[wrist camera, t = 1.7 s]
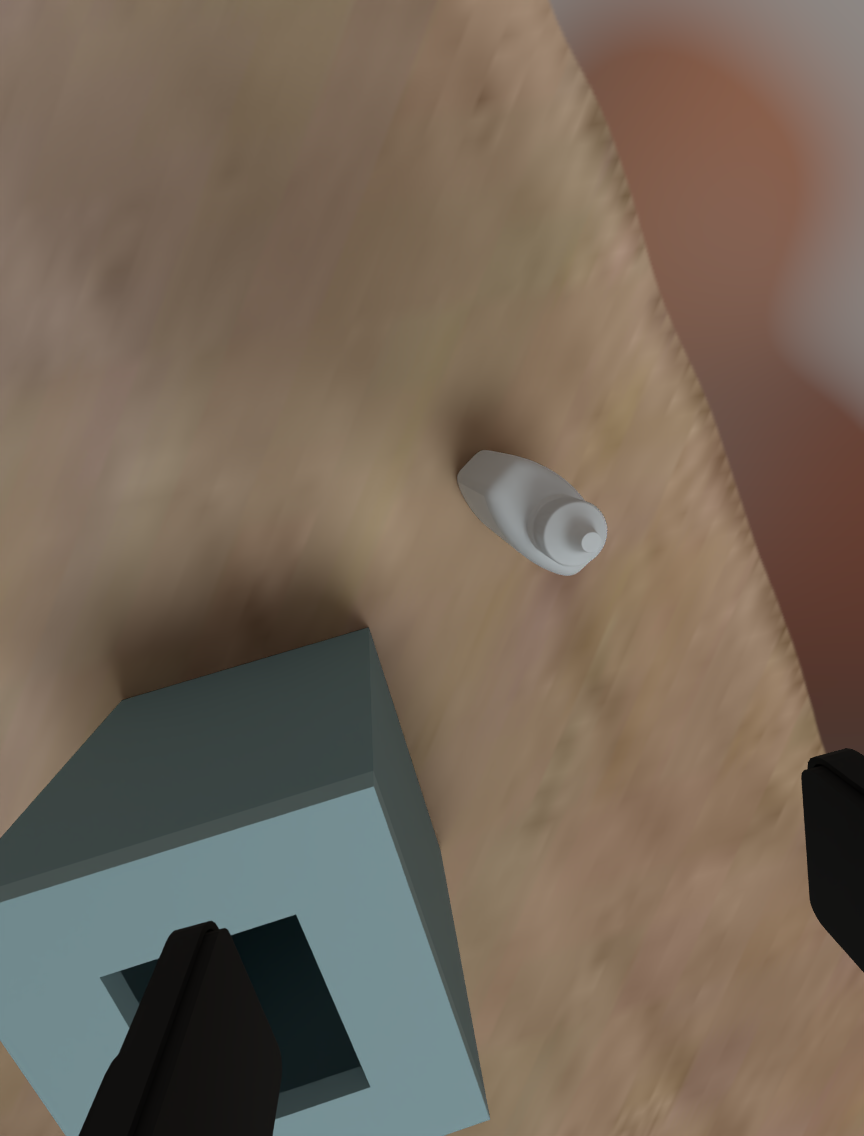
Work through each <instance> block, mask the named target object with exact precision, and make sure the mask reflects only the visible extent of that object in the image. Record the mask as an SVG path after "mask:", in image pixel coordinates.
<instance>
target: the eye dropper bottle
mask: <svg viewBox="0 0 864 1136" xmlns="http://www.w3.org/2000/svg"><path fill="white" fill-rule="evenodd" d="M457 482H458V485H459V488H460V490H461V493H462V495H463V497H464V499H465V501H466V502H467V504H468V505H469V507H470V508H471V510H472V511H473V513H474V514H475V515H476V516H477V517H478V518H479V519H480V520H481V521H482V522H483V523H484V524H485V525H486V526H487V527H488V528H489V529H491V530H492V531H493V532H494V533H496V534H497V535H498V536H499V537H501V538H502V539H503V540H504V541H506V542H507V543H508V544H509V545H511V546H512V547H513V548H514V549H516V550H517V551H518V552H520V553H521V554H522V555H523V556H525V557H526V558H527V559H529V560H530V561H532V562H533V563H535V564H537V565H538V566H540V567H542V568H544V569H546V570H549V571H551V572H554V573H557V574H560V575H565V576H567V575H574V574H575V573H577V572H579V571H580V570H581V569H582V568H583V567H585V566H586V565H587V564H588V563H589V562H590V561H592V559H593V558H595V557H596V556H597V555H598V554H599V553H600V551H601V550H602V548H603V545H604V544H605V541H606V538H607V531H608V530H607V526H606V525H607V523H606V520H605V517H603V514H601V511H599V509H598V508H597V507H596V506H594V505H593V504H591V503H589V502H587V501H585V500H584V499H583V498H582V496H581V495H580V494H579V493H578V492H577V491H576V489H575V488H574V487H573V486H572V485H571V484H569V483H568V482H567V481H566V480H565V479H563V478H562V477H561V476H559V475H558V474H556V473H555V472H553V471H552V470H550V469H548V468H547V467H545V466H543V465H540V464H538V463H536V462H534V461H531V460H529V459H526V458H522V457H519V456H515V455H510V454H505V453H500V452H495V451H490V450H481V451H479V452H478V453H476V454H475V455H474V456H473V457H472V458H471V459H470V460H469V461H468V462H467V464H466V465H465V466H464V467H463V468H462V469H461V470H460V471H459V473H458V475H457Z"/></svg>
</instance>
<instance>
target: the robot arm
mask: <svg viewBox="0 0 864 1136" xmlns="http://www.w3.org/2000/svg"><path fill="white" fill-rule="evenodd" d="M801 779H802V794H803V808H804V823H805V837H806V852H807V866H808V881H809V895H810V903H811V906H812V909H813V911H814V913H815V915H816V917H817V918H818V920H819V922H820V923H821V924H822V926H823V927H824V928H825V929H826V930H827V932H828V933H829V934H830V935H831V936H832V937H833V938H834V939H835V941H836V942H837V943H838V944H839V945H840V946H841V947H842V948H843V950H844V951H845V952H846V953H847V954H848V955H849V956H850V957H851V959H852V960H853V961H854V962H855V963H856V964H857V965H858V966H859V968H860V969H861V970H862V971H863V972H864V756H863V755H862V754H860V753H859V752H857V751H855V750H853V749H848V748H845V749H842V750H838V751H834V752H831V753H827V754H823V755H820V756H816V757H813V758H810V760H809V762H808V769H807V770H804V771H803V772H802V777H801ZM281 1078H282V1058H281V1052H280V1049H279V1046H278V1043H277V1041H276V1039H275V1036H274V1034H273V1032H272V1029H271V1027H270V1025H269V1022H268V1020H267V1018H266V1015H265V1013H264V1011H263V1009H262V1006H261V1004H260V1002H259V999H258V997H257V995H256V992H255V990H254V988H253V985H252V983H251V981H250V978H249V976H248V974H247V971H246V969H245V967H244V965H243V962H242V960H241V958H240V955H239V953H238V951H237V948H236V946H235V944H234V941H233V939H232V937H231V934H230V933H229V931H228V929H226V928H222V929H219V928H218V926H217V925H216V923H215V922H213V921H207V922H204V923H200V924H196V925H193V926H189V927H185V928H181V929H178V930H174V931H173V932H172V933H171V934H170V935H169V937H168V939H167V941H166V943H165V945H164V947H163V950H162V952H161V955H160V957H159V959H158V962H157V964H156V966H155V969H154V971H153V973H152V976H151V978H150V981H149V983H148V985H147V988H146V990H145V992H144V995H143V997H142V999H141V1002H140V1004H139V1007H138V1009H137V1011H136V1014H135V1016H134V1018H133V1021H132V1023H131V1025H130V1028H129V1030H128V1033H127V1035H126V1037H125V1040H124V1042H123V1044H122V1047H121V1049H120V1051H119V1054H118V1055H117V1056H116V1057H115V1058H114V1060H113V1061H112V1062H111V1064H110V1066H109V1068H108V1070H107V1072H106V1073H105V1075H104V1078H103V1080H102V1082H101V1084H100V1087H99V1089H98V1091H97V1094H96V1096H95V1098H94V1101H93V1103H92V1105H91V1108H90V1110H89V1112H88V1115H87V1117H86V1119H85V1122H84V1124H83V1126H82V1129H81V1131H80V1133H79V1136H273V1130H274V1124H275V1117H276V1111H277V1105H278V1098H279V1092H280V1085H281Z"/></svg>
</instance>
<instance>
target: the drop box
mask: <svg viewBox="0 0 864 1136" xmlns="http://www.w3.org/2000/svg"><path fill="white" fill-rule="evenodd" d="M207 921H213V922H215V923H216V925H217V926H218V928H219V929H222V928H226V929H228V931H229V933H230V934H231V937H232V939H233V941H234V944H235V946H236V948H237V951H238V953H239V955H240V958H241V960H242V962H243V965H244V967H245V969H246V971H247V974H248V976H249V978H250V981H251V983H252V985H253V988H254V990H255V992H256V995H257V997H258V999H259V1002H260V1004H261V1006H262V1009H263V1011H264V1013H265V1015H266V1018H267V1020H268V1022H269V1025H270V1027H271V1029H272V1032H273V1034H274V1036H275V1039H276V1041H277V1043H278V1046H279V1049H280V1052H281V1058H282V1078H281V1085H280V1092H279V1098H278V1105H277V1111H276V1117H275V1124H274V1130H273V1136H444V1135H447V1134H450V1133H452V1132H455V1131H458V1130H461V1129H464V1128H467V1127H470V1126H473V1125H476V1124H478V1123H481V1122H484V1121H487V1120H490V1116H489V1111H488V1105H487V1100H486V1094H485V1089H484V1083H483V1078H482V1073H481V1067H480V1062H479V1056H478V1051H477V1045H476V1040H475V1035H474V1029H473V1024H472V1018H471V1013H470V1008H469V1002H468V997H467V991H466V986H465V980H464V975H463V970H462V964H461V959H460V953H459V948H458V942H457V937H456V932H455V926H454V921H453V915H452V910H451V905H450V899H449V894H448V888H447V883H446V877H445V872H444V867H443V861H442V856H441V851H440V848H439V845H438V841H437V838H436V835H435V832H434V829H433V826H432V823H431V820H430V817H429V813H428V810H427V807H426V804H425V801H424V798H423V795H422V792H421V789H420V785H419V782H418V779H417V776H416V773H415V770H414V767H413V764H412V760H411V757H410V754H409V751H408V748H407V745H406V742H405V739H404V736H403V732H402V729H401V726H400V723H399V720H398V717H397V714H396V711H395V708H394V704H393V701H392V698H391V695H390V692H389V689H388V686H387V683H386V680H385V676H384V673H383V670H382V667H381V664H380V661H379V658H378V655H377V651H376V648H375V645H374V642H373V639H372V636H371V633H370V630H369V627H368V628H365V629H362V630H358V631H355V632H351V633H348V634H345V635H341V636H338V637H335V638H331V639H328V640H324V641H321V642H318V643H314V644H311V645H307V646H304V647H301V648H297V649H294V650H291V651H287V652H284V653H280V654H277V655H274V656H270V657H267V658H263V659H260V660H257V661H253V662H250V663H247V664H243V665H240V666H236V667H233V668H230V669H226V670H223V671H220V672H216V673H213V674H209V675H206V676H203V677H199V678H196V679H192V680H189V681H186V682H182V683H179V684H176V685H172V686H169V687H165V688H162V689H159V690H155V691H152V692H149V693H145V694H142V695H138V696H135V697H132V698H128V699H125V700H122V701H121V702H120V703H119V704H118V705H117V706H116V708H115V709H114V710H113V711H112V712H111V713H110V714H109V715H108V717H107V718H106V719H105V720H104V721H103V722H102V723H101V725H100V726H99V727H98V728H97V729H96V730H95V731H94V733H93V734H92V735H91V736H90V737H89V738H88V739H87V740H86V742H85V743H84V744H83V745H82V746H81V747H80V748H79V750H78V751H77V752H76V753H75V754H74V755H73V756H72V757H71V759H70V760H69V761H68V762H67V763H66V764H65V765H64V767H63V768H62V769H61V770H60V771H59V772H58V773H57V775H56V776H55V777H54V778H53V779H52V780H51V781H50V782H49V784H48V785H47V786H46V787H45V788H44V789H43V790H42V792H41V793H40V794H39V795H38V796H37V797H36V798H35V799H34V801H33V802H32V803H31V804H30V805H29V806H28V807H27V809H26V810H25V811H24V812H23V813H22V814H21V815H20V817H19V818H18V819H17V820H16V821H15V822H14V823H13V824H12V826H11V827H10V828H9V829H8V830H7V831H6V832H5V834H4V835H3V836H2V837H1V838H0V1041H1V1042H2V1043H3V1045H4V1046H5V1048H6V1049H7V1051H8V1052H9V1054H10V1055H11V1057H12V1058H13V1060H14V1061H15V1062H16V1064H17V1065H18V1067H19V1068H20V1070H21V1071H22V1073H23V1074H24V1076H25V1077H26V1078H27V1080H28V1081H29V1083H30V1084H31V1086H32V1087H33V1089H34V1090H35V1092H36V1093H37V1094H38V1096H39V1097H40V1099H41V1100H42V1102H43V1103H44V1105H45V1106H46V1108H47V1109H48V1110H49V1112H50V1113H51V1115H52V1116H53V1118H54V1119H55V1121H56V1122H57V1124H58V1125H59V1126H60V1128H61V1129H62V1131H63V1132H64V1134H65V1135H66V1136H79V1133H80V1131H81V1129H82V1126H83V1124H84V1122H85V1119H86V1117H87V1115H88V1112H89V1110H90V1108H91V1105H92V1103H93V1101H94V1098H95V1096H96V1094H97V1091H98V1089H99V1087H100V1084H101V1082H102V1080H103V1078H104V1075H105V1073H106V1072H107V1070H108V1068H109V1066H110V1064H111V1062H112V1061H113V1060H114V1058H115V1057H116V1056H117V1055H118V1054H119V1051H120V1049H121V1047H122V1044H123V1042H124V1040H125V1037H126V1035H127V1033H128V1030H129V1028H130V1025H131V1023H132V1021H133V1018H134V1016H135V1014H136V1011H137V1009H138V1007H139V1004H140V1002H141V999H142V997H143V995H144V992H145V990H146V988H147V985H148V983H149V981H150V978H151V976H152V973H153V971H154V969H155V966H156V964H157V962H158V959H159V957H160V955H161V952H162V950H163V947H164V945H165V943H166V941H167V939H168V937H169V935H170V934H171V933H172V932H173V931H174V930H178V929H181V928H185V927H189V926H193V925H196V924H200V923H204V922H207Z"/></svg>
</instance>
